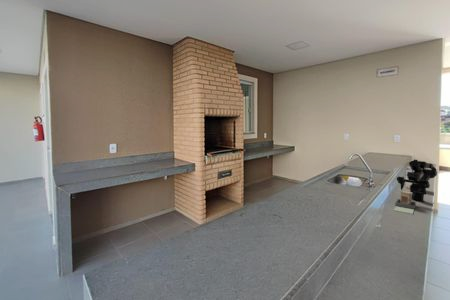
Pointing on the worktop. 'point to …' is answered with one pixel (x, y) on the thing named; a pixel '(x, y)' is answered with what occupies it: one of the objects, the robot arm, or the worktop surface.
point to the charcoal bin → (412, 206)
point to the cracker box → (407, 178)
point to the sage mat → (404, 210)
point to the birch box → (406, 198)
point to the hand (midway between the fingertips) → (408, 190)
